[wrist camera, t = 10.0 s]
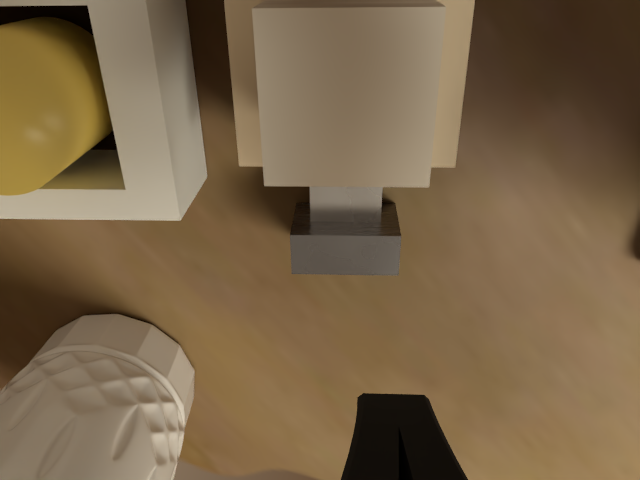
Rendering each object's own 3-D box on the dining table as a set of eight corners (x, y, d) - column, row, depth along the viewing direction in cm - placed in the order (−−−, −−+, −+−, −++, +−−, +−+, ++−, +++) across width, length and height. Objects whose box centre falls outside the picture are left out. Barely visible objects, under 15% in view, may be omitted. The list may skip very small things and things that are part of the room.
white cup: (229, 333, 23) (154, 578, 14) (187, 449, 26) (107, 699, 18) (44, 275, 22) (-163, 499, 13) (27, 404, 25) (-142, 646, 17)
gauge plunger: (110, 16, 16) (40, 36, 12) (134, 146, 18) (81, 196, 14) (-22, 17, 16) (-127, 37, 12) (17, 146, 18) (-64, 194, 14)
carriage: (463, -67, 15) (542, -77, 9) (442, 140, 18) (490, 240, 12) (236, -64, 15) (162, -70, 9) (252, 139, 18) (204, 236, 12)
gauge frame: (180, -44, 16) (139, -41, 13) (207, 176, 19) (180, 220, 16) (-80, -40, 16) (-180, -37, 13) (-8, 175, 19) (-74, 218, 16)
